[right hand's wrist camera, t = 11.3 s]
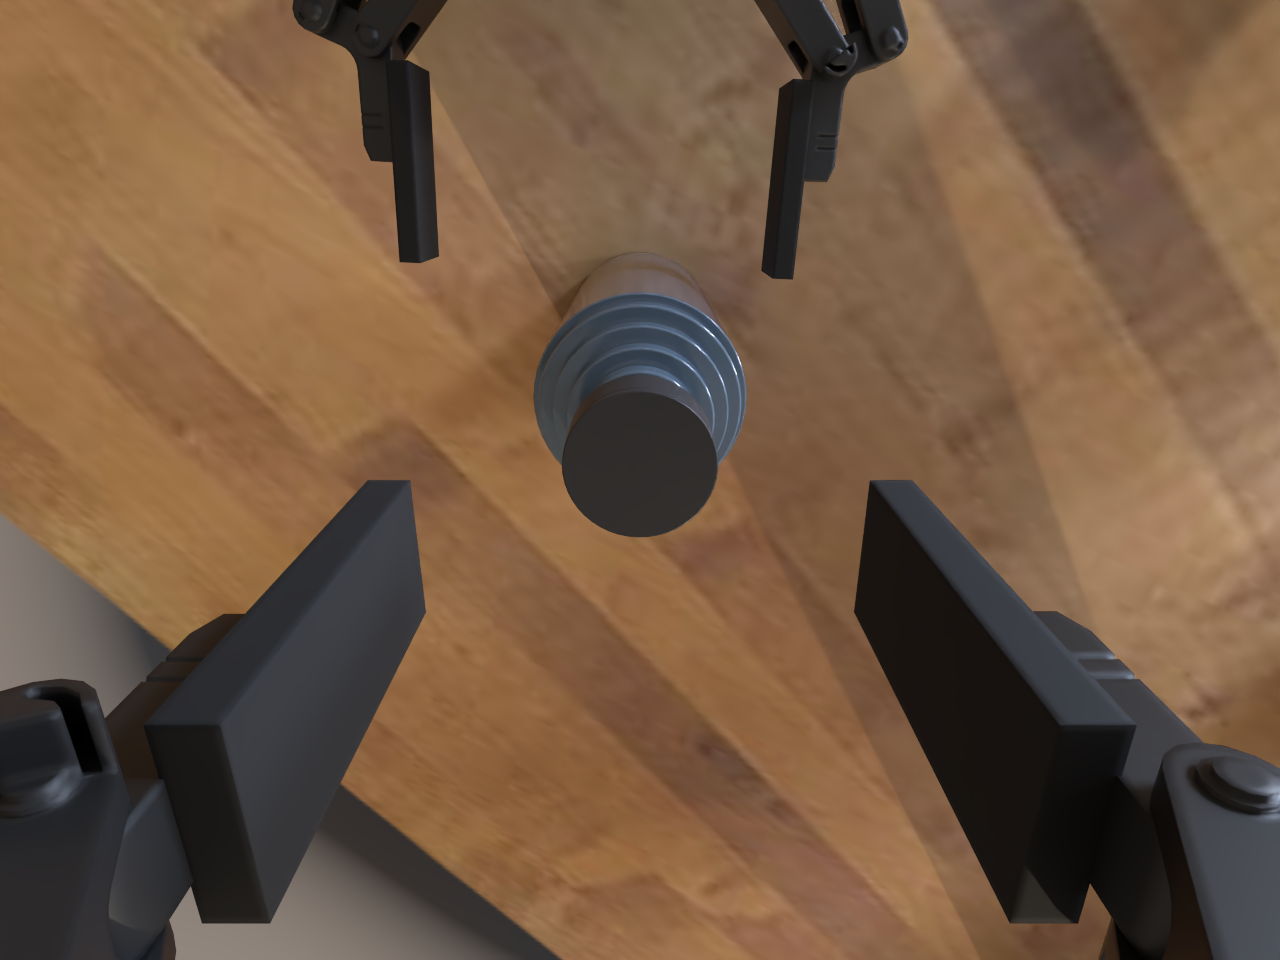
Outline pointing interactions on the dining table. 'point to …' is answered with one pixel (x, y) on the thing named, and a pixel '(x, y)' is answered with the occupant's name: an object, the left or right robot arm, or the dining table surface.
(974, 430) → the dining table surface
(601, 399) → the cap
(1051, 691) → the right robot arm
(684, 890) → the dining table surface
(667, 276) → the bottle
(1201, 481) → the dining table surface
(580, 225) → the dining table surface
